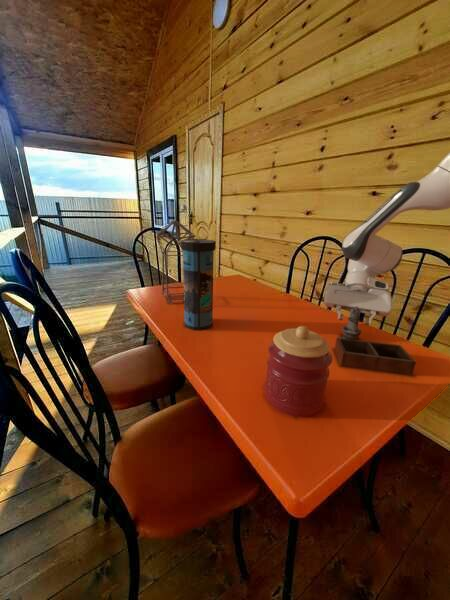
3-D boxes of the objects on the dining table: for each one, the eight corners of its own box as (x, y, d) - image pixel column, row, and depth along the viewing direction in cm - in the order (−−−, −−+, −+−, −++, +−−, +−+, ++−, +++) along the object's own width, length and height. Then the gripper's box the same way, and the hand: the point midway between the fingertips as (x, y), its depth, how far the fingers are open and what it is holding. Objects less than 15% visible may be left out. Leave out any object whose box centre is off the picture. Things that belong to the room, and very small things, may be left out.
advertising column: (191, 334, 85) (189, 243, 75) (178, 322, 94) (175, 239, 84) (219, 327, 90) (222, 242, 81) (205, 316, 99) (205, 238, 89)
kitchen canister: (280, 373, 66) (288, 310, 60) (331, 395, 58) (345, 326, 53) (252, 399, 57) (258, 327, 51) (309, 430, 49) (323, 350, 43)
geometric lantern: (196, 306, 110) (196, 222, 98) (159, 308, 107) (154, 221, 95) (192, 295, 125) (191, 220, 113) (159, 296, 121) (155, 219, 109)
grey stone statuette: (362, 340, 85) (370, 307, 81) (353, 345, 81) (360, 310, 77) (346, 333, 89) (353, 301, 85) (336, 337, 86) (343, 304, 82)
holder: (396, 358, 75) (400, 344, 73) (411, 377, 66) (416, 362, 65) (334, 350, 78) (336, 337, 76) (340, 367, 69) (343, 352, 68)
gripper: (327, 277, 89) (320, 312, 84) (395, 285, 81) (392, 324, 76) (326, 286, 94) (319, 319, 89) (389, 294, 86) (386, 332, 81)
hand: (353, 322), depth 83 cm, fingers open, 7 cm apart
